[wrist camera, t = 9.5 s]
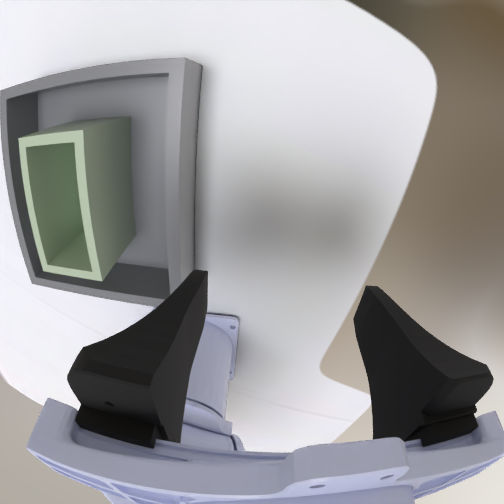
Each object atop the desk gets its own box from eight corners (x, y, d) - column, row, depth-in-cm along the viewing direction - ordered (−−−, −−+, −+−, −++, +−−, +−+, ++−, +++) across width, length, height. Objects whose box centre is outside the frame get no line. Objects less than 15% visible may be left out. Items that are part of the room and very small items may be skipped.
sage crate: (135, 235, 21) (102, 281, 16) (82, 230, 21) (43, 271, 16) (130, 116, 17) (83, 130, 12) (72, 121, 17) (18, 138, 12)
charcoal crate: (194, 274, 24) (182, 310, 20) (56, 256, 24) (31, 283, 20) (202, 65, 16) (185, 57, 12) (37, 85, 16) (0, 90, 12)
